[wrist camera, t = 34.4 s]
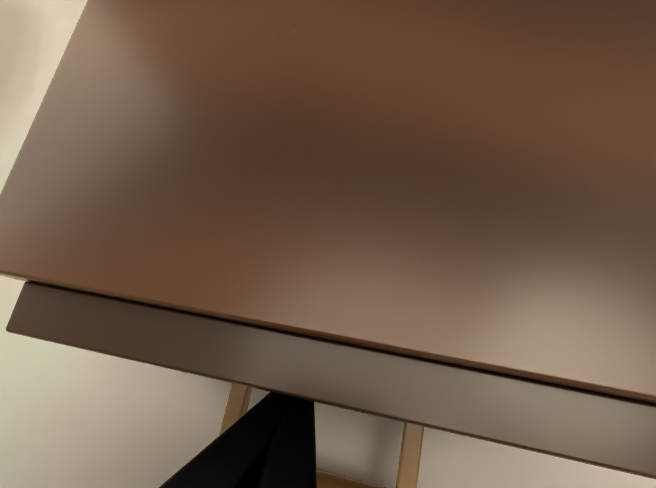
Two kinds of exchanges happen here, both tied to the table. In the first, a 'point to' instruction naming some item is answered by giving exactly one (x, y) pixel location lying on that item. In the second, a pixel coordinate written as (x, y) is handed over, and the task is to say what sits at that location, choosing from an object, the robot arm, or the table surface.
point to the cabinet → (361, 176)
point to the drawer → (351, 381)
